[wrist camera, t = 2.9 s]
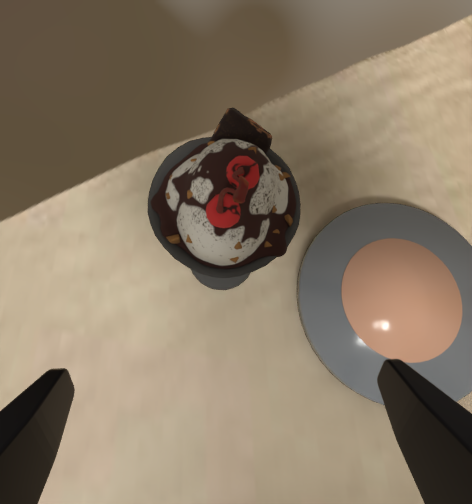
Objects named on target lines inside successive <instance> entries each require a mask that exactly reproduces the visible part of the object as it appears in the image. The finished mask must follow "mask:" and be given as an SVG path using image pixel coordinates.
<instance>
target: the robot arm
mask: <svg viewBox="0 0 472 504" xmlns="http://www.w3.org/2000/svg"><path fill="white" fill-rule="evenodd" d="M377 383H378V387H379V390H380V393H381V396H382V399H383V402H384V405H385V408H386V411H387V414H388V417H389V420H390V423H391V426H392V429H393V431H394V434H395V437H396V440H397V442H398V444H399V447H400V449H401V451H402V454H403V456H404V458H405V460H406V463H407V465H408V467H409V469H410V472H411V474H412V476H413V478H414V481H415V483H416V485H417V487H418V489H419V492H420V494H421V496H422V498H423V501H424V503H425V504H472V414H471V413H470V412H469V411H468V410H466V409H465V408H464V407H462V406H461V405H460V404H458V403H457V402H456V401H454V400H453V399H452V398H451V397H449V396H448V395H447V394H445V393H444V392H443V391H441V390H440V389H439V388H437V387H436V386H435V385H434V384H432V383H431V382H430V381H428V380H427V379H426V378H424V377H423V376H422V375H420V374H419V373H418V372H417V371H415V370H414V369H413V368H411V367H410V366H409V365H407V364H406V363H405V362H403V361H402V360H400V359H386V360H385V361H384V362H383V364H382V367H381V369H380V372H379V374H378V377H377ZM73 397H74V385H73V382H72V380H71V377H70V375H69V372H68V370H67V369H65V368H60V369H50V370H48V371H47V372H46V373H44V374H43V375H42V376H41V377H40V378H39V379H37V380H36V381H35V382H34V383H33V384H31V385H30V386H29V387H28V388H27V389H26V390H24V391H23V392H22V393H21V394H20V395H19V396H17V397H16V398H15V399H14V400H13V401H12V402H10V403H9V404H8V405H7V406H6V407H5V408H3V409H2V410H1V411H0V504H38V501H39V499H40V496H41V494H42V491H43V489H44V486H45V484H46V481H47V479H48V476H49V474H50V471H51V469H52V466H53V463H54V461H55V458H56V455H57V452H58V449H59V446H60V442H61V439H62V435H63V432H64V428H65V425H66V421H67V418H68V414H69V411H70V407H71V404H72V401H73Z"/></svg>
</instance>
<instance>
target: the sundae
mask: <svg viewBox="0 0 472 504" xmlns="http://www.w3.org/2000/svg"><path fill="white" fill-rule="evenodd" d="M271 141H272V136H271V134H270V133H269V132H267V131H266V130H265V129H263V128H262V127H261V126H259V125H258V124H257V123H256V122H254V121H253V120H251V119H250V118H248V117H246V116H244V115H243V114H241V113H240V112H239V111H237V110H236V109H235V108H229V109H227V111H226V113H225V115H224V116H223V118H222V119H221V121H220V123H219V124H218V126H217V128H216V130H215V132H214V134H213V136H212V137H207V138H200V139H196V140H192V141H189V142H187V143H185V144H183V145H182V146H180V147H178V148H177V149H176V150H174V151H173V152H172V153H171V154H169V155H168V156H167V157H166V158H165V160H164V161H163V163H162V164H161V166H160V167H159V169H158V171H157V172H156V174H155V176H154V178H153V181H152V184H151V188H150V192H149V198H148V216H149V220H150V224H151V226H152V229H153V231H154V234H155V236H156V237H157V239H158V240H159V241H160V243H161V244H162V245H163V247H164V248H165V249H166V250H167V251H168V252H169V253H170V254H171V255H172V256H173V257H174V258H175V259H176V260H178V261H179V262H181V263H182V264H184V265H185V266H187V267H188V268H190V269H191V270H192V273H193V274H194V276H195V277H196V278H197V279H198V280H199V281H200V282H201V283H202V284H204V285H205V286H207V287H209V288H212V289H217V290H227V289H231V288H234V287H236V286H238V285H240V284H241V283H242V282H244V281H245V280H246V279H247V278H248V276H249V274H250V273H251V272H253V271H255V270H257V269H259V268H261V267H264V266H266V265H267V264H268V263H270V262H271V261H272V260H274V259H275V258H276V257H280V256H282V255H284V254H285V253H286V250H287V247H288V245H289V244H290V242H291V240H292V238H293V237H294V235H295V233H296V230H297V228H298V225H299V219H300V198H299V191H298V188H297V185H296V182H295V179H294V177H293V175H292V173H291V171H290V168H289V167H288V166H287V165H286V164H285V162H284V161H283V160H282V159H281V158H280V157H279V156H278V155H277V154H276V153H274V152H273V151H272V150H271V149H270V146H271Z"/></svg>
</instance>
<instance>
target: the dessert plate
mask: <svg viewBox="0 0 472 504" xmlns="http://www.w3.org/2000/svg"><path fill="white" fill-rule="evenodd" d="M297 303H298V311H299V315H300V320H301V324H302V326H303V329H304V332H305V335H306V337H307V339H308V341H309V343H310V345H311V347H312V349H313V350H314V352H315V353H316V355H317V356H318V358H319V359H320V361H321V362H322V363H323V365H324V366H325V367H326V368H327V369H328V370H329V371H330V373H331V374H333V375H334V376H335V377H336V378H337V379H338V380H339V381H340V382H341V383H343V384H344V385H346V386H347V387H348V388H350V389H351V390H353V391H354V392H356V393H358V394H360V395H362V396H364V397H365V398H368V399H370V400H372V401H374V402H377V403H380V404H383V405H384V402H383V399H382V396H381V393H380V390H379V387H378V383H377V377H378V374H379V372H380V369H381V367H382V364H383V362H384V361H385V360H386V359H400V360H402V361H403V362H405V363H406V364H407V365H409V366H410V367H411V368H413V369H414V370H415V371H417V372H418V373H419V374H420V375H422V376H423V377H424V378H426V379H427V380H428V381H430V382H431V383H432V384H434V385H435V386H436V387H437V388H439V389H440V390H441V391H443V392H444V393H445V394H447V395H448V396H449V397H451V398H452V399H453V400H454V401H456V402H457V401H458V400H460V399H461V398H463V397H465V396H466V395H468V394H469V393H470V392H471V391H472V246H471V245H470V244H469V243H468V241H467V240H466V239H465V238H464V237H463V236H462V235H460V234H459V233H458V232H457V231H456V230H455V229H453V228H452V227H451V226H450V225H448V224H447V223H445V222H444V221H442V220H441V219H439V218H437V217H436V216H434V215H431V214H429V213H427V212H425V211H423V210H420V209H417V208H414V207H410V206H406V205H402V204H393V203H376V204H369V205H364V206H360V207H357V208H354V209H352V210H349V211H347V212H345V213H343V214H341V215H340V216H338V217H337V218H335V219H334V220H333V221H331V222H330V223H329V224H328V225H327V226H326V227H324V228H323V229H322V230H321V232H320V233H319V234H318V235H317V236H316V237H315V238H314V240H313V241H312V243H311V244H310V246H309V247H308V249H307V251H306V253H305V255H304V258H303V260H302V263H301V266H300V270H299V275H298V281H297Z"/></svg>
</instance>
